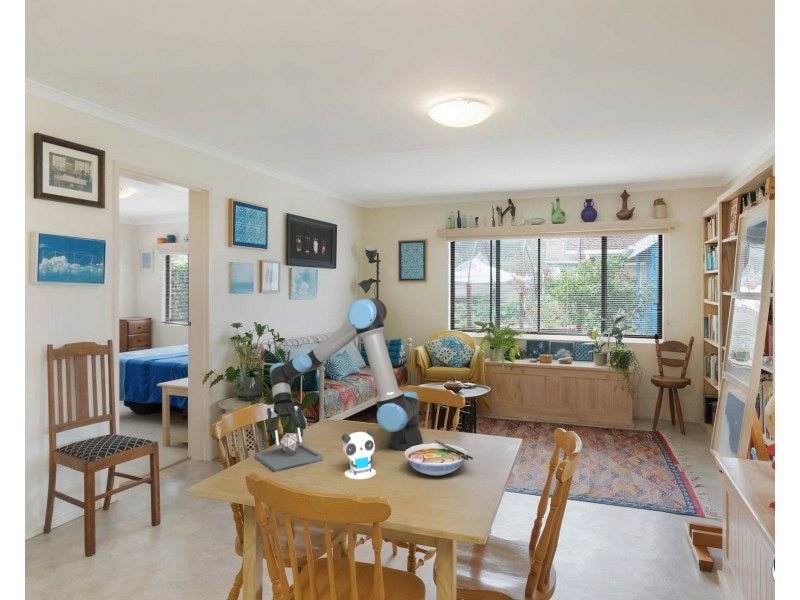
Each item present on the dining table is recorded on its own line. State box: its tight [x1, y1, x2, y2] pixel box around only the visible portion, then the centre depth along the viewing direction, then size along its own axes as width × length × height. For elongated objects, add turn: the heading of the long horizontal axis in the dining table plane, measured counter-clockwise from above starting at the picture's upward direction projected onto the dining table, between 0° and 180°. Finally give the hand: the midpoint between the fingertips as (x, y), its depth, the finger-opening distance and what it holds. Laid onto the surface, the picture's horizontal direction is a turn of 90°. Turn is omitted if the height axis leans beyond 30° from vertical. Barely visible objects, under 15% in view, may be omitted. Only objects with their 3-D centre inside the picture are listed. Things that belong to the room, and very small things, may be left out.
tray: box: [253, 443, 323, 473], centre depth 200 cm, size 20×20×2 cm
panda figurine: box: [341, 429, 377, 480], centre depth 183 cm, size 12×11×15 cm
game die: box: [278, 431, 299, 454], centre depth 200 cm, size 9×8×10 cm
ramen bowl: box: [403, 439, 474, 477], centre depth 183 cm, size 25×23×8 cm
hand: (289, 445), depth 197 cm, fingers closed on game die, 8 cm apart
